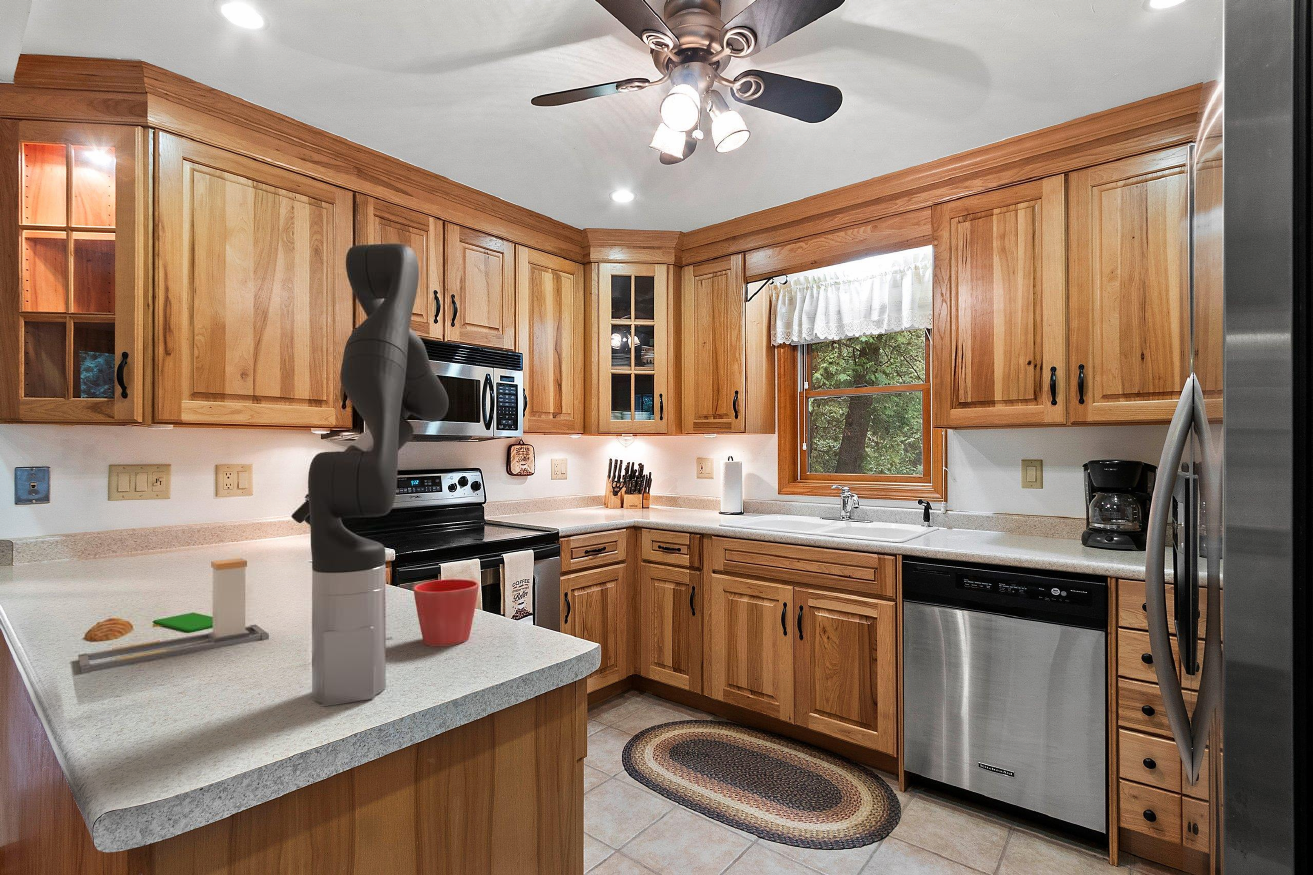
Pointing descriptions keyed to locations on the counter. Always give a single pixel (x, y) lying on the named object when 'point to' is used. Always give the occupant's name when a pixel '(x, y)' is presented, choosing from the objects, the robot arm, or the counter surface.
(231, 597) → the fader
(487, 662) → the counter surface
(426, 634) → the flower pot
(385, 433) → the robot arm
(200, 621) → the dish sponge
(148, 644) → the track
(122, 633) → the pastry
